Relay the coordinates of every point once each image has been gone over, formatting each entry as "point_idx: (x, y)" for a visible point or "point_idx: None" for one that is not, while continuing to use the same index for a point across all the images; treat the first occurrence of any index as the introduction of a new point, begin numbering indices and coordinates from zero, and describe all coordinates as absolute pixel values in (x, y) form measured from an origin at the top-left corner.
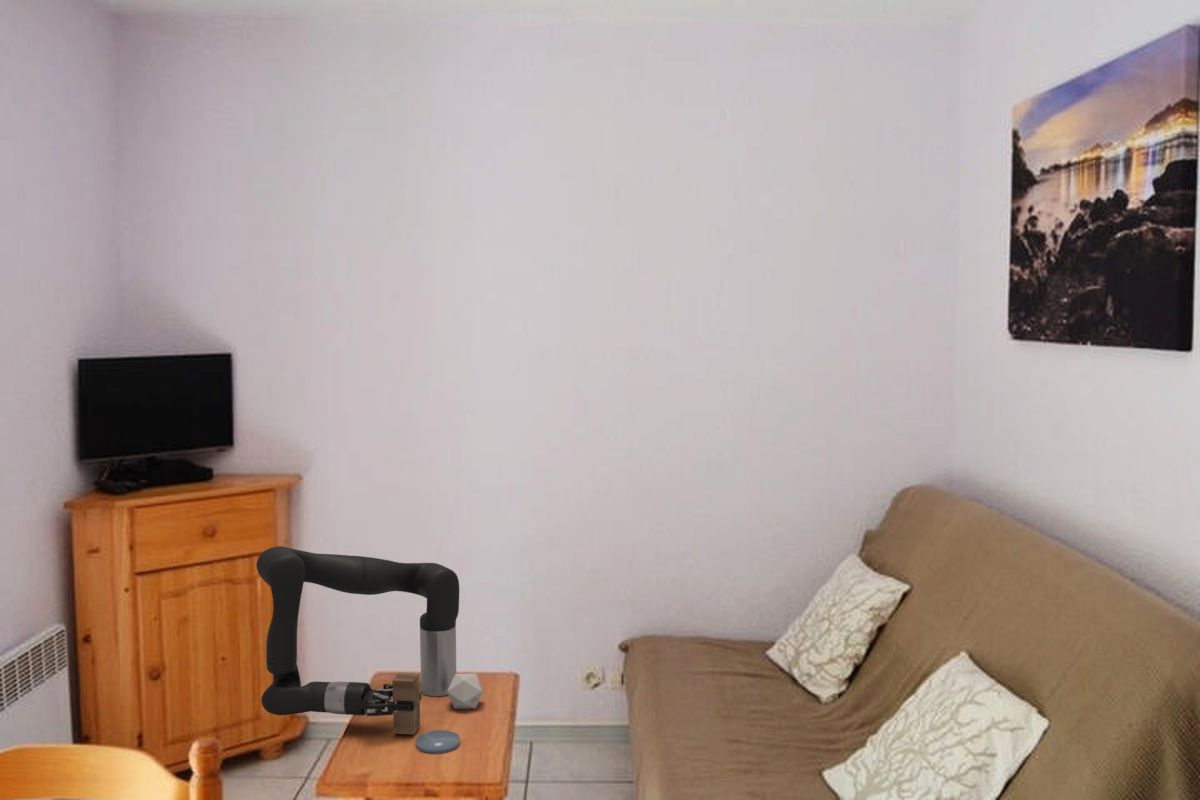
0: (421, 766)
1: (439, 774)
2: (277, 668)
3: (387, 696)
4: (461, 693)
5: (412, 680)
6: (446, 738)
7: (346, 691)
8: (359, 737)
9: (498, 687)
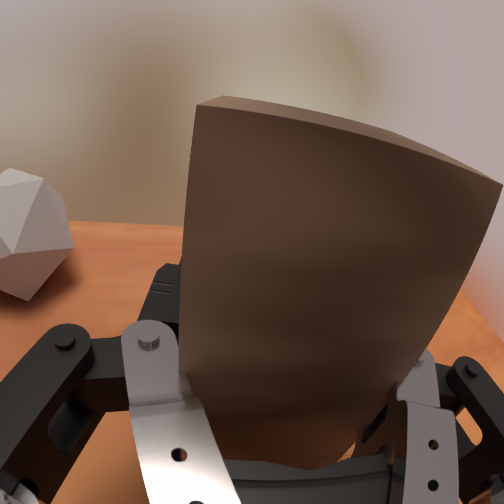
0: (451, 340)
1: (452, 305)
2: None
3: (414, 422)
4: (56, 224)
5: (381, 129)
6: None
7: None
8: None
9: None
